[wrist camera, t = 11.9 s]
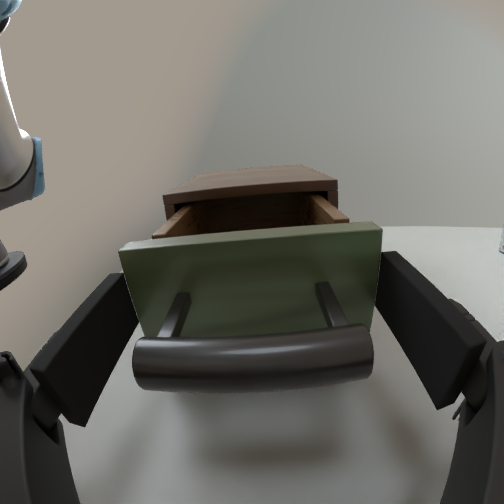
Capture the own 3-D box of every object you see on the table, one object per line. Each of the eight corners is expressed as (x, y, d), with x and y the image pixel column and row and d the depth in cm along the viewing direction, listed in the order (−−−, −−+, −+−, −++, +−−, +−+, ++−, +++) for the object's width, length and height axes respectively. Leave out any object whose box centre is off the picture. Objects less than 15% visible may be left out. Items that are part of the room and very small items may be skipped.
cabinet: (335, 297, 22) (337, 179, 18) (185, 308, 22) (162, 195, 19) (304, 236, 36) (301, 164, 33) (211, 244, 37) (201, 173, 33)
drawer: (391, 437, 9) (455, 287, 6) (137, 450, 9) (50, 315, 6) (315, 260, 27) (313, 181, 24) (201, 269, 27) (189, 192, 24)
